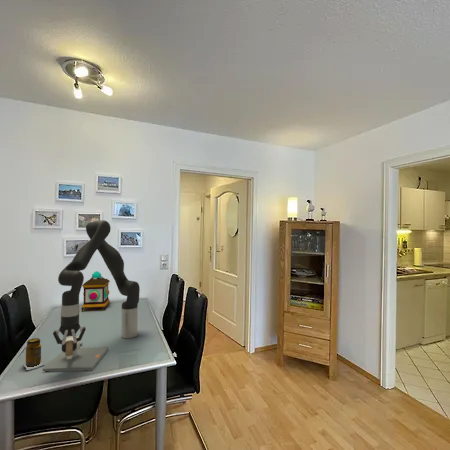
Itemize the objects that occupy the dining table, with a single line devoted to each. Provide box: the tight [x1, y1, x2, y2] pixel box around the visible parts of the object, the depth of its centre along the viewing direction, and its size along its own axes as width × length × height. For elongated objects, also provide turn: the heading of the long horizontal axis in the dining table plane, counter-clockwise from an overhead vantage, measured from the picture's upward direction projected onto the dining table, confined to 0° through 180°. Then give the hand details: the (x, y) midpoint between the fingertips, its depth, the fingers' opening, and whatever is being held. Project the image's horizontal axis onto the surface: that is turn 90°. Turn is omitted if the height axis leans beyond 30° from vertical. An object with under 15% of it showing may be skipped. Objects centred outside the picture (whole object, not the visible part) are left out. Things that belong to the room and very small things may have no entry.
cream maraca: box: [65, 335, 83, 359], centre depth 135 cm, size 15×9×8 cm, turn 22°
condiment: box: [25, 337, 42, 367], centre depth 133 cm, size 7×8×12 cm
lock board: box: [42, 346, 109, 372], centre depth 139 cm, size 22×22×5 cm
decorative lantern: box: [81, 271, 111, 312], centre depth 227 cm, size 20×20×30 cm
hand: (69, 350), depth 130 cm, fingers closed on cream maraca, 3 cm apart
